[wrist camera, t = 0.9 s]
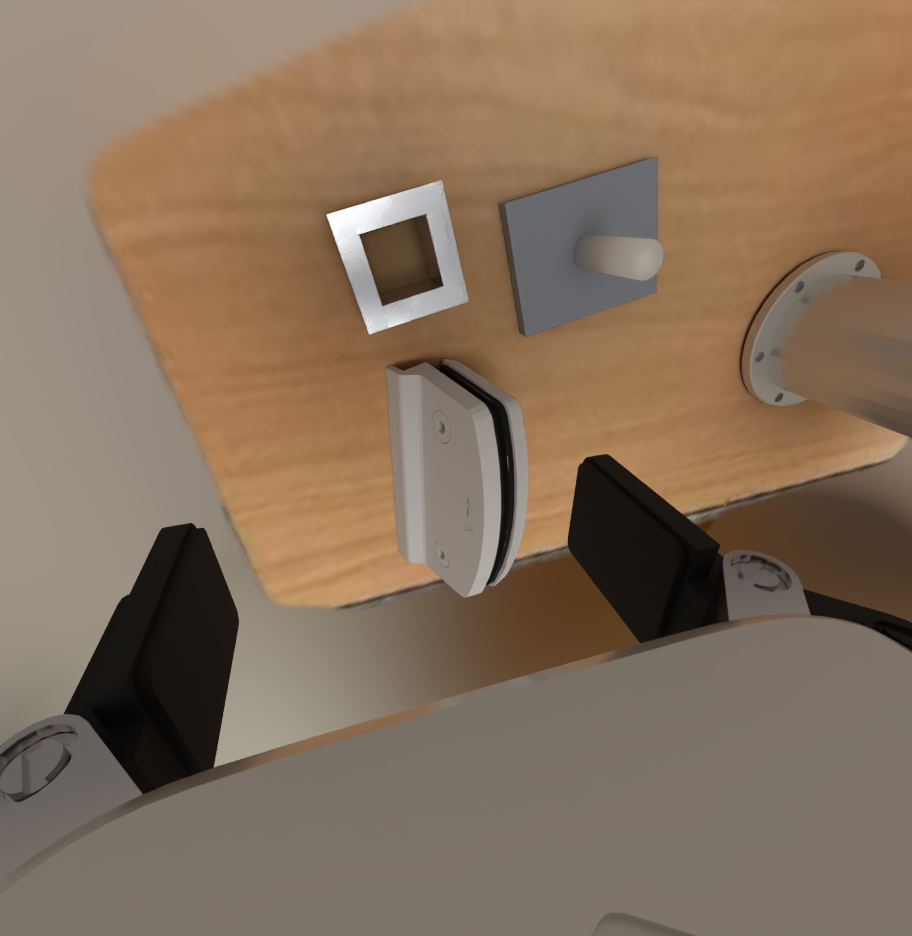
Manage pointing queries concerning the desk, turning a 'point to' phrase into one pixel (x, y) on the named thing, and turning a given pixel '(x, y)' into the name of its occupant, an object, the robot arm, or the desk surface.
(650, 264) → the keeper
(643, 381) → the desk surface
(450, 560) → the grey slotted holder
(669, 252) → the desk surface
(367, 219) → the grey square hollow block
